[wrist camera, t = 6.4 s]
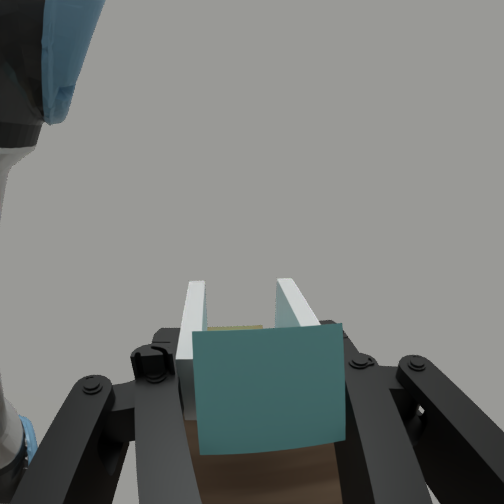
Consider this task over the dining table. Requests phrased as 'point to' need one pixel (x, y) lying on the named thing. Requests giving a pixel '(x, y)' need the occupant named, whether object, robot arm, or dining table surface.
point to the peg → (268, 388)
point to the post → (266, 475)
